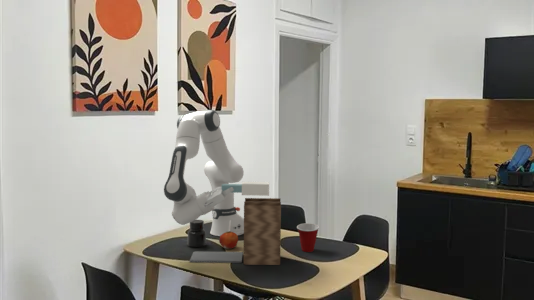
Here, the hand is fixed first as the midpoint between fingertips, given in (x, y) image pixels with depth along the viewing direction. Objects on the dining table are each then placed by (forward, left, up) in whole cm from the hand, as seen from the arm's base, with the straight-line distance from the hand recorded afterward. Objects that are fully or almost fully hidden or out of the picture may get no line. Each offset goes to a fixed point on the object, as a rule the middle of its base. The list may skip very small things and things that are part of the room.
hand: (233, 187), depth 225 cm
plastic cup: (-36, +11, -33) cm, 50 cm away
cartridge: (-4, +3, -3) cm, 6 cm away
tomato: (-9, -16, -33) cm, 38 cm away
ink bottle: (+1, -29, -33) cm, 44 cm away
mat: (+5, -6, -33) cm, 34 cm away
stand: (-10, +8, -33) cm, 35 cm away
